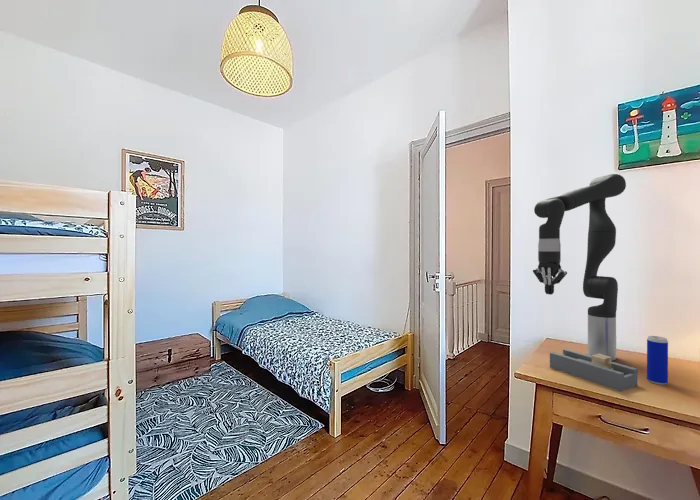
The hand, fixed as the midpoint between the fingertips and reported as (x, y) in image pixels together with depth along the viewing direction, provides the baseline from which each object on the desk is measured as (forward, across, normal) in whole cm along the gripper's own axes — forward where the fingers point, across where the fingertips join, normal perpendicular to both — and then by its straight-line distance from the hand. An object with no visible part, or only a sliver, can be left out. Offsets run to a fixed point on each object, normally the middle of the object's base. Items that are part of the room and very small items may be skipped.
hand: (549, 294), depth 129 cm
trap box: (+27, -15, 0) cm, 31 cm away
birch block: (+23, -19, 0) cm, 30 cm away
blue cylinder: (+27, -28, -14) cm, 41 cm away
